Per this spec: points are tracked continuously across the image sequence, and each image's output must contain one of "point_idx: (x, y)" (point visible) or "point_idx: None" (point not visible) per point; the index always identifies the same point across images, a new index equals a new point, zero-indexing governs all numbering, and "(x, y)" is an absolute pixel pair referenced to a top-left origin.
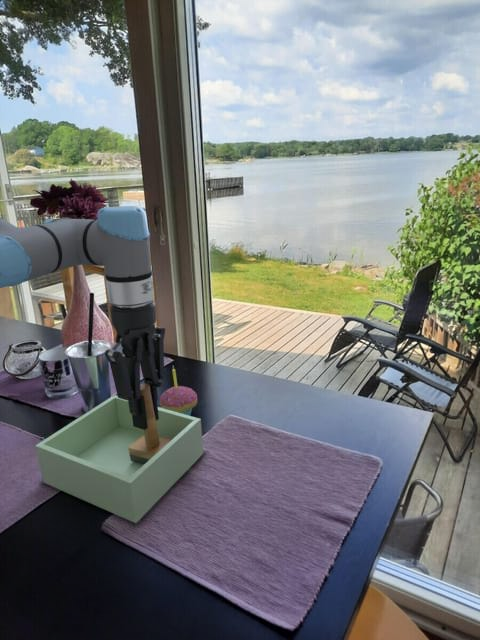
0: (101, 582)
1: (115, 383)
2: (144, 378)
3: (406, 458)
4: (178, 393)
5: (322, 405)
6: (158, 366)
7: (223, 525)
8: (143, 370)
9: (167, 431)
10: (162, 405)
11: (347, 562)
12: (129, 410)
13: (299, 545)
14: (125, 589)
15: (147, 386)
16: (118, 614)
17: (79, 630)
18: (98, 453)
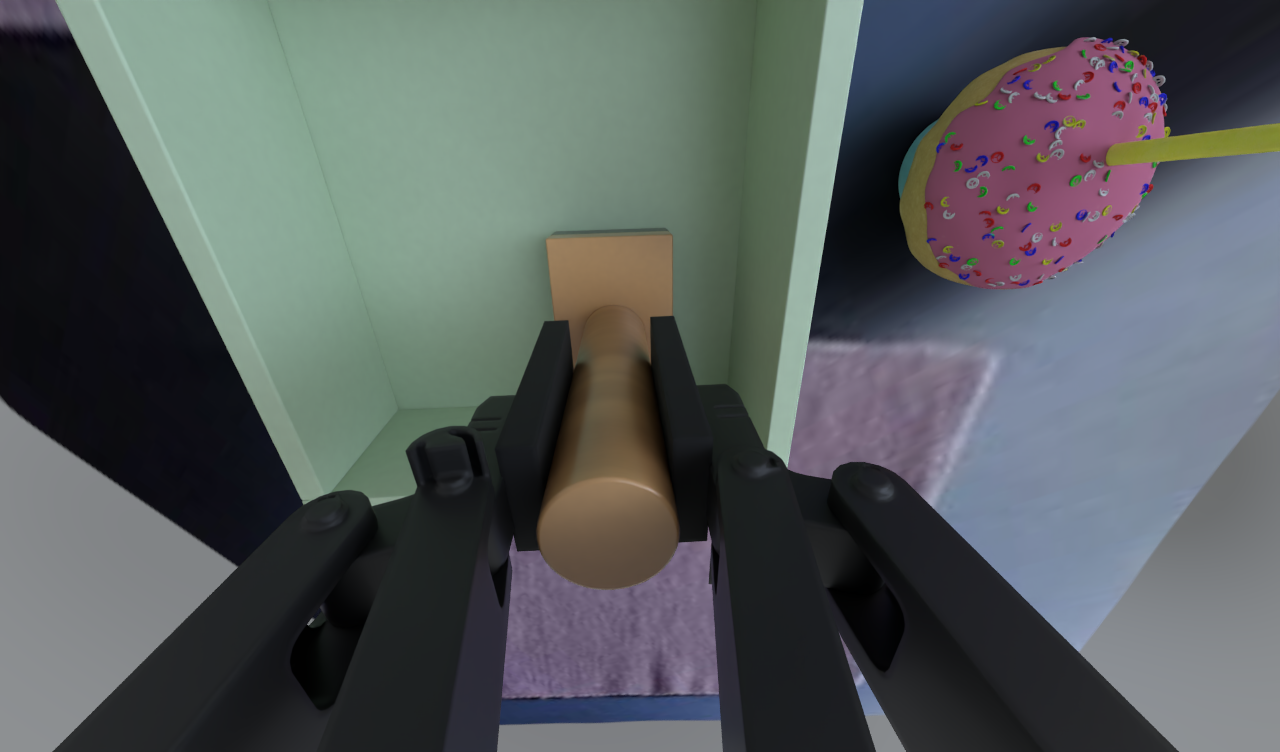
0: (231, 461)
1: (110, 714)
2: (719, 520)
3: (870, 710)
4: (1039, 216)
5: (1079, 556)
6: (889, 696)
7: (529, 562)
8: (727, 639)
9: (749, 291)
10: (939, 140)
11: (580, 707)
12: (474, 413)
13: (569, 661)
14: (268, 507)
15: (629, 577)
16: (229, 528)
17: (145, 497)
18: (517, 15)
